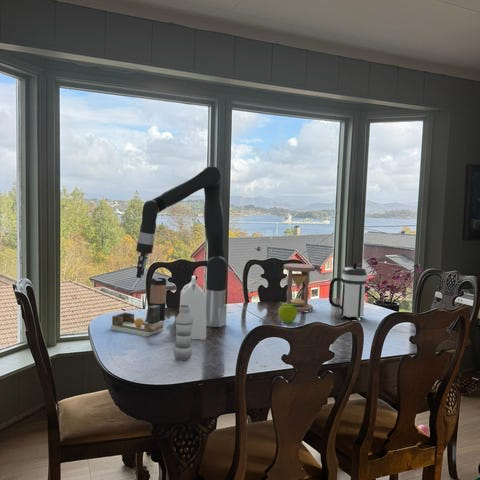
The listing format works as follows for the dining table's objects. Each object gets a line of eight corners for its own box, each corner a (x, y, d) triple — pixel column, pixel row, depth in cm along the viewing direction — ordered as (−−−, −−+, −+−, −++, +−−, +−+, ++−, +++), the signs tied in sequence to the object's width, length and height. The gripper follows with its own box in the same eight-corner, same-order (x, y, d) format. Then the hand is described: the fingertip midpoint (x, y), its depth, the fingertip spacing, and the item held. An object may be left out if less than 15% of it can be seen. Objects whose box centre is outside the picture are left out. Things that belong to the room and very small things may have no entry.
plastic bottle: (174, 356, 175) (175, 304, 173) (192, 356, 176) (193, 304, 174) (173, 362, 169) (174, 308, 167) (191, 362, 169) (193, 308, 168)
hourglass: (302, 305, 274) (304, 263, 272) (318, 311, 258) (321, 267, 256) (276, 306, 267) (278, 263, 265) (291, 313, 251) (293, 268, 249)
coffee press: (354, 313, 258) (358, 260, 255) (371, 321, 243) (375, 264, 240) (327, 314, 252) (330, 260, 250) (342, 322, 237) (346, 264, 235)
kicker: (162, 327, 206) (163, 305, 205) (153, 331, 200) (154, 308, 199) (153, 326, 208) (154, 304, 208) (144, 329, 202) (144, 307, 201)
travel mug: (162, 321, 223) (163, 280, 221) (147, 320, 224) (148, 279, 223) (167, 318, 230) (168, 278, 229) (153, 316, 232) (154, 277, 230)
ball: (145, 326, 208) (145, 317, 208) (139, 328, 205) (139, 319, 205) (138, 325, 210) (138, 316, 210) (132, 327, 207) (132, 318, 206)
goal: (134, 322, 214) (134, 314, 214) (122, 326, 206) (122, 317, 206) (124, 320, 216) (124, 312, 216) (112, 324, 208) (112, 316, 208)
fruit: (279, 319, 238) (280, 300, 237) (297, 320, 236) (298, 301, 235) (276, 323, 229) (277, 303, 228) (295, 325, 227) (296, 305, 226)
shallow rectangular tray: (163, 330, 209) (163, 324, 209) (147, 336, 198) (147, 330, 198) (127, 323, 218) (127, 318, 217) (110, 329, 207) (110, 323, 207)
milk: (206, 339, 198) (208, 279, 196) (178, 339, 196) (181, 278, 194) (203, 331, 210) (205, 274, 208) (178, 331, 208) (179, 274, 206)
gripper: (151, 245, 210) (145, 280, 211) (155, 242, 224) (149, 275, 225) (135, 242, 209) (129, 277, 210) (139, 239, 223) (134, 272, 224)
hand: (139, 276), depth 217 cm, fingers open, 8 cm apart
